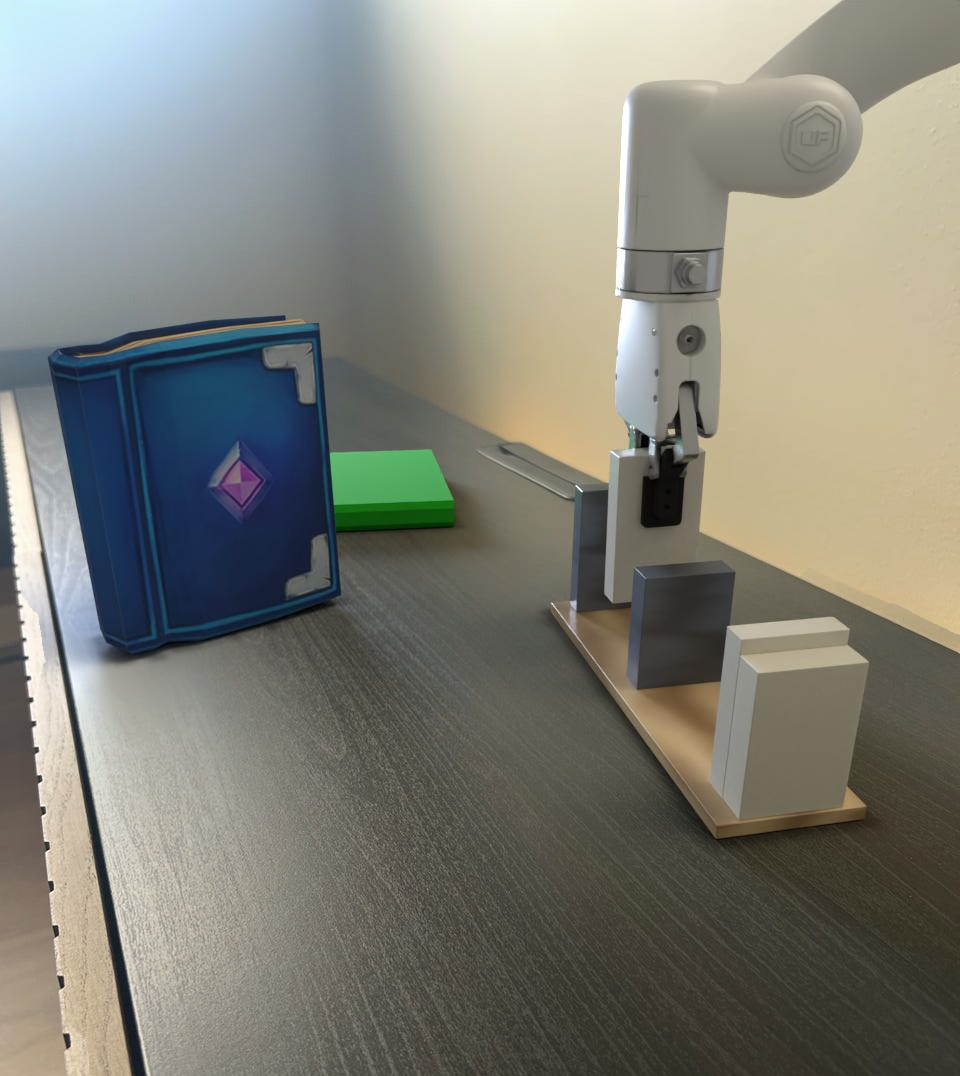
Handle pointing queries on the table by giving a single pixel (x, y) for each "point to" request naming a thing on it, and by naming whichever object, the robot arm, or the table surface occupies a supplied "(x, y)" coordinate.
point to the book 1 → (200, 476)
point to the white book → (633, 540)
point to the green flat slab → (389, 490)
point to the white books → (786, 717)
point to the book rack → (666, 662)
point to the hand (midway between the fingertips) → (653, 517)
